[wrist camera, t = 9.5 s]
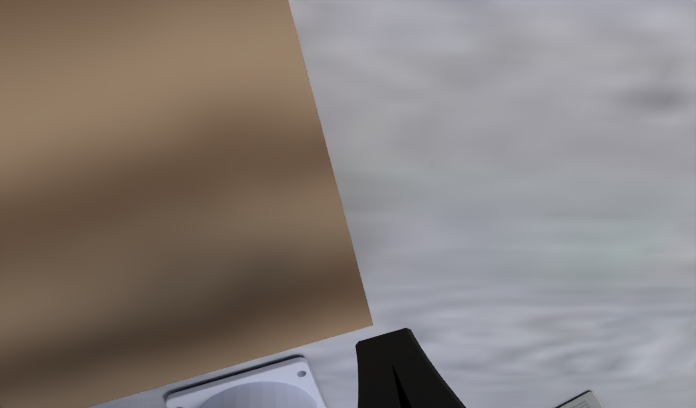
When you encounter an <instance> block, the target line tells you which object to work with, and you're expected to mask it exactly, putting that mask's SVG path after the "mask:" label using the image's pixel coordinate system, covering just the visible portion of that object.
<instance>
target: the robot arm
mask: <svg viewBox="0 0 696 408" xmlns="http://www.w3.org/2000/svg"><path fill="white" fill-rule="evenodd" d="M355 347H356V353H357V362H358V408H466V407H465V406H464V405H463V403H462V402H461V401H460V400H459V398H458V397H457V396H456V395H455V393H454V392H453V391H452V390H451V388H450V387H449V386H448V385H447V383H446V382H445V381H444V380H443V378H442V377H441V376H440V374H439V373H438V372H437V370H436V369H435V367H434V366H433V365H432V363H431V362H430V360H429V359H428V357H427V356H426V354H425V353H424V351H423V350H422V348H421V347H420V345H419V343H418V342H417V340H416V338H415V337H414V335H413V333H412V331H411V330H410V329H408V328H404V329H400V330H397V331H393V332H390V333H386V334H383V335H379V336H376V337H372V338H369V339H366V340H362V341H359V342H358V343H357V344H356V345H355ZM166 407H167V408H327V407H326V404H325V402H324V400H323V397H322V395H321V392H320V390H319V388H318V385H317V383H316V380H315V378H314V376H313V373H312V371H311V368H310V366H309V364H308V361H307V360H306V359H305V358H302V357H298V358H294V359H290V360H287V361H283V362H280V363H276V364H273V365H269V366H266V367H262V368H259V369H255V370H252V371H249V372H245V373H242V374H238V375H235V376H231V377H228V378H224V379H221V380H217V381H214V382H210V383H207V384H204V385H200V386H197V387H193V388H190V389H186V390H183V391H179V392H176V393H173V394H170V395H169V396H168V397H167V399H166Z"/></svg>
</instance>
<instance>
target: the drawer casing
mask: <svg viewBox="0 0 696 408" xmlns="http://www.w3.org/2000/svg"><path fill="white" fill-rule="evenodd" d="M372 325H373V322H372V318H371V315H370V311H369V307H368V303H367V299H366V296H365V292H364V288H363V284H362V280H361V277H360V273H359V269H358V265H357V261H356V257H355V254H354V250H353V246H352V242H351V238H350V235H349V231H348V227H347V223H346V219H345V216H344V212H343V208H342V204H341V200H340V196H339V193H338V189H337V185H336V181H335V177H334V174H333V170H332V166H331V162H330V158H329V155H328V151H327V147H326V143H325V139H324V135H323V132H322V128H321V124H320V120H319V116H318V113H317V109H316V105H315V101H314V97H313V94H312V90H311V86H310V82H309V78H308V74H307V71H306V67H305V63H304V59H303V55H302V52H301V48H300V44H299V40H298V36H297V33H296V29H295V25H294V21H293V17H292V13H291V10H290V6H289V2H288V0H0V406H1V407H2V408H87V407H90V406H94V405H97V404H101V403H104V402H108V401H111V400H115V399H118V398H122V397H125V396H129V395H132V394H136V393H139V392H143V391H146V390H150V389H153V388H157V387H160V386H163V385H167V384H170V383H174V382H177V381H181V380H184V379H188V378H191V377H195V376H198V375H202V374H205V373H209V372H212V371H216V370H219V369H223V368H226V367H229V366H233V365H236V364H240V363H243V362H247V361H250V360H254V359H257V358H261V357H264V356H268V355H271V354H275V353H278V352H282V351H285V350H289V349H292V348H295V347H299V346H302V345H306V344H309V343H313V342H316V341H320V340H323V339H327V338H330V337H334V336H337V335H341V334H344V333H348V332H351V331H355V330H358V329H361V328H365V327H368V326H372Z"/></svg>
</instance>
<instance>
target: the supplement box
mask: <svg viewBox="0 0 696 408" xmlns="http://www.w3.org/2000/svg"><path fill="white" fill-rule="evenodd" d="M560 408H604V406H603V405H602V404H601V402H600V401H599V399H598V398H597V397H596V395H595V394H594V393H593V392H588V393H586V394H584V395H582V396H580V397H578V398H577V399H575V400H573V401H571V402H569V403H567V404H565V405H563V406H561V407H560Z"/></svg>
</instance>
